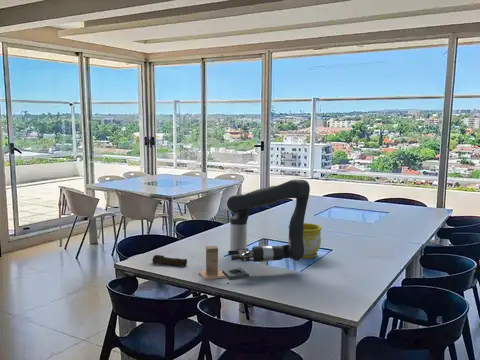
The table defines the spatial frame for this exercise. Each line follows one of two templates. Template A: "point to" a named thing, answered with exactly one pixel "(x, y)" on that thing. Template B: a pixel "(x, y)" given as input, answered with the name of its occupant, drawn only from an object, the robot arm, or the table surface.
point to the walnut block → (212, 260)
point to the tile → (208, 277)
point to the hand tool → (169, 260)
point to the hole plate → (234, 276)
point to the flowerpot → (311, 240)
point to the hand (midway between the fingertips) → (229, 255)
